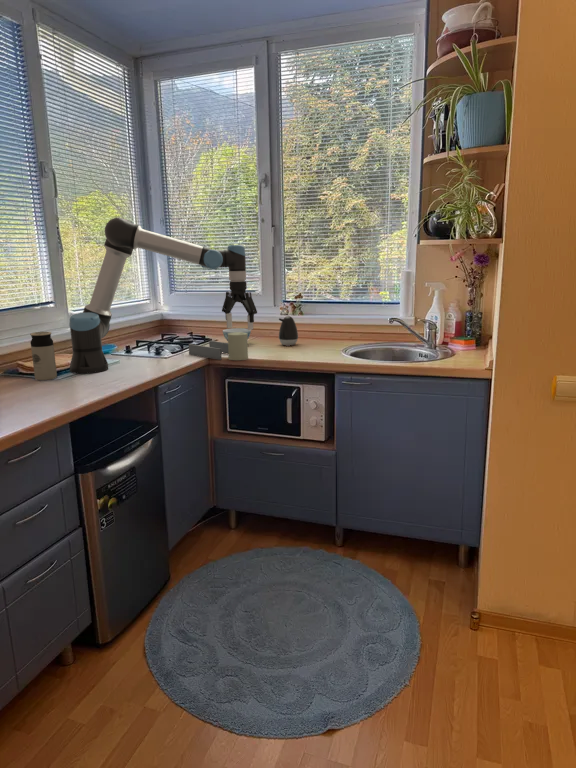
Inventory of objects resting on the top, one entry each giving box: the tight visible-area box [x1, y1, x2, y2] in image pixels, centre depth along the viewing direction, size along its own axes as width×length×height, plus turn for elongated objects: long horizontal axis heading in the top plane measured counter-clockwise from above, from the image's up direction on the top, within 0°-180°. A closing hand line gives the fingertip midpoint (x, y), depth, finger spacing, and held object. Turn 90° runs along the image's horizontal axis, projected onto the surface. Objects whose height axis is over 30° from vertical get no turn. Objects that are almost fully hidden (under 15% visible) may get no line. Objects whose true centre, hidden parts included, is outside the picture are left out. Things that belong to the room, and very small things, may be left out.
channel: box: [188, 340, 228, 361], centre depth 256 cm, size 14×22×5 cm, turn 49°
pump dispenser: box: [278, 315, 299, 347], centre depth 281 cm, size 10×10×15 cm
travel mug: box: [30, 331, 58, 381], centre depth 209 cm, size 8×8×18 cm
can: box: [227, 332, 249, 361], centre depth 246 cm, size 9×9×12 cm
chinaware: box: [222, 327, 252, 342], centre depth 285 cm, size 15×15×8 cm
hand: (239, 328), depth 243 cm, fingers open, 13 cm apart
